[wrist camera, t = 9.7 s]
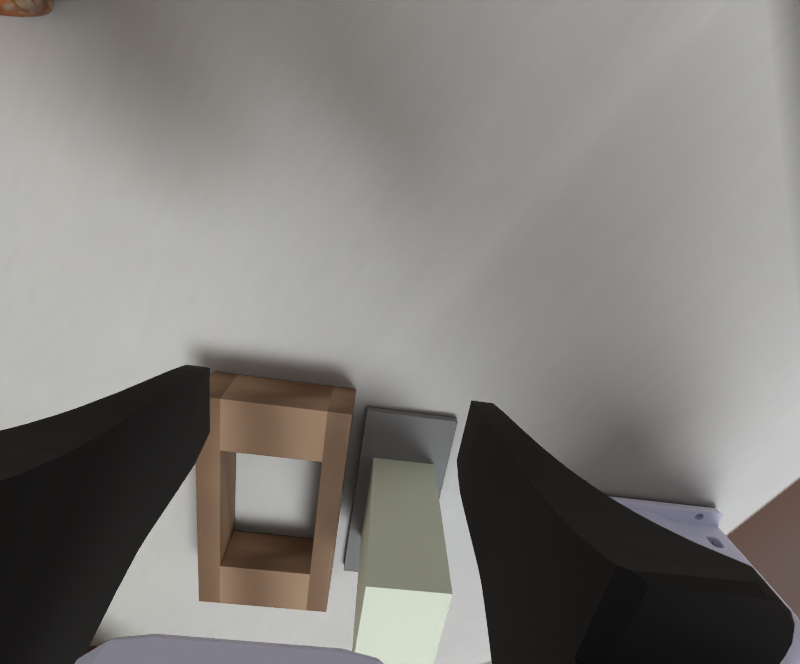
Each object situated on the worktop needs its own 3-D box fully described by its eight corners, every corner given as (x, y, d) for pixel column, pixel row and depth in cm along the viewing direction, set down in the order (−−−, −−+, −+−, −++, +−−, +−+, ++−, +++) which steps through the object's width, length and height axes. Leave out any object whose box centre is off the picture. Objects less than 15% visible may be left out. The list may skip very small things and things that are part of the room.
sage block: (433, 464, 25) (452, 594, 17) (416, 542, 27) (426, 686, 20) (373, 457, 25) (365, 586, 17) (361, 536, 27) (349, 681, 19)
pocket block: (355, 389, 23) (352, 414, 21) (331, 575, 29) (326, 612, 26) (214, 371, 23) (194, 395, 21) (214, 564, 28) (199, 600, 26)
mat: (456, 417, 24) (457, 421, 24) (420, 572, 29) (420, 577, 28) (367, 406, 24) (366, 410, 24) (344, 565, 28) (343, 570, 28)
